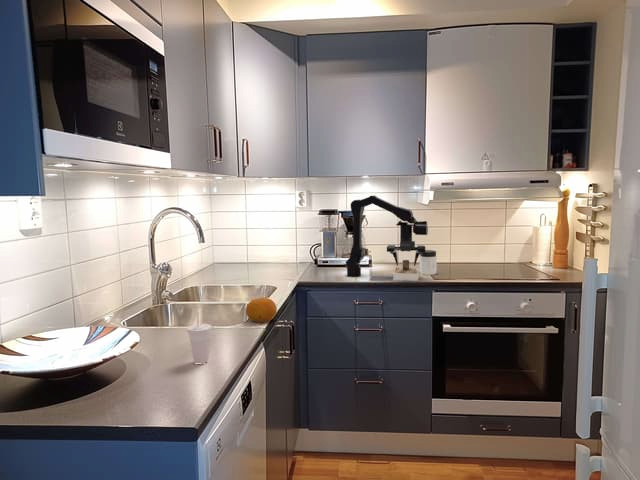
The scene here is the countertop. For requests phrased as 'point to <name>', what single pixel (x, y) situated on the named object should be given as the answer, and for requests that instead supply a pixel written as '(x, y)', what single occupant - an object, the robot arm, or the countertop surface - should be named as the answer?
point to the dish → (405, 276)
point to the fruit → (261, 309)
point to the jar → (428, 262)
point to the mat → (382, 278)
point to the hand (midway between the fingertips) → (405, 265)
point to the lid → (405, 268)
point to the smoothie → (200, 341)
